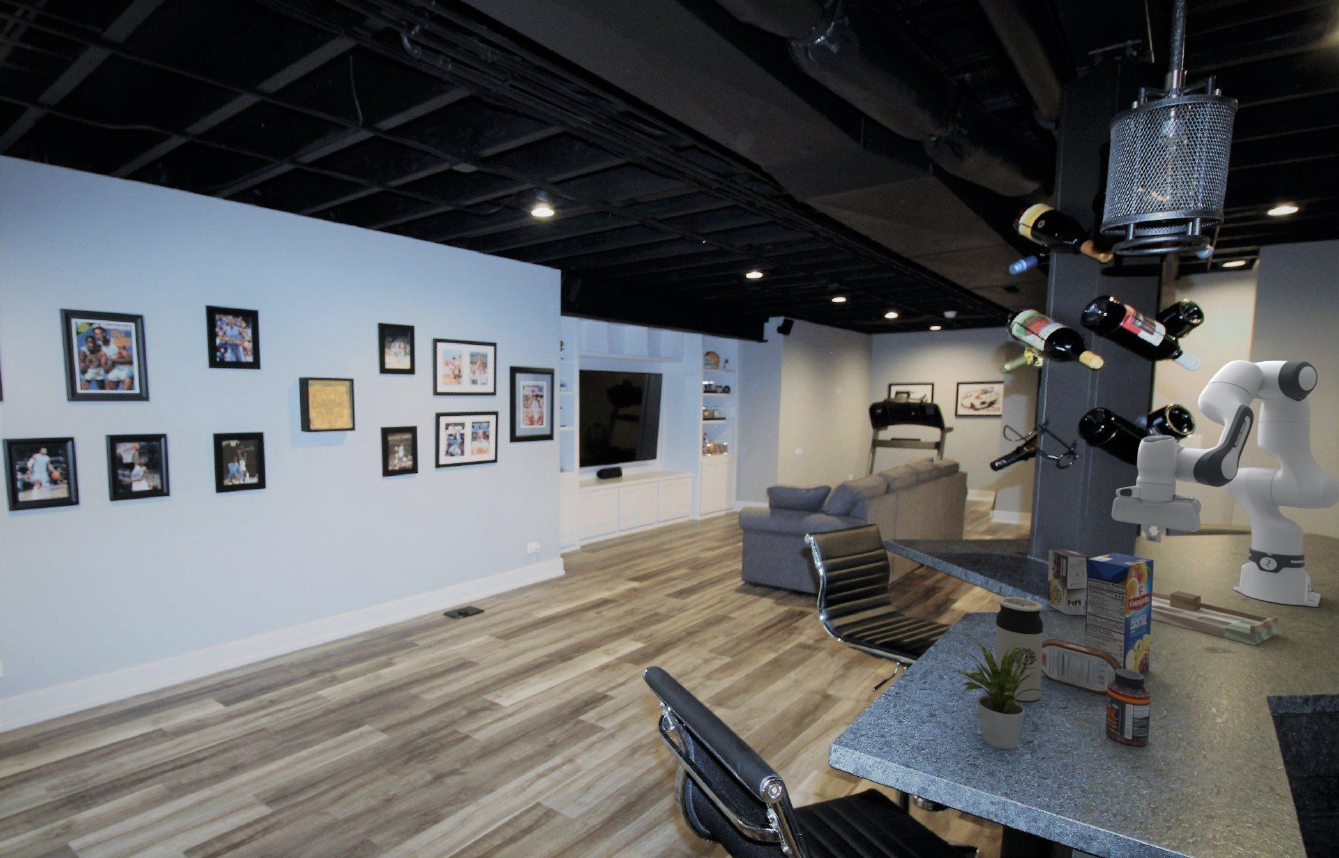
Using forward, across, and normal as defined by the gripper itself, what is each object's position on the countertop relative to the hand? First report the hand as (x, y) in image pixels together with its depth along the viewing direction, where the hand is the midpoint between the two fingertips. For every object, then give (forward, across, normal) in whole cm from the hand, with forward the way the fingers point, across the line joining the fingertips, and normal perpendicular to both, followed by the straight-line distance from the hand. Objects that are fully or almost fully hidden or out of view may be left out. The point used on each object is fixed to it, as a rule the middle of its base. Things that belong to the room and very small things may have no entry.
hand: (1153, 541), depth 176 cm
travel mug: (+19, -12, +86) cm, 89 cm away
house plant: (+19, -20, +105) cm, 109 cm away
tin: (+19, -16, +72) cm, 76 cm away
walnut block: (+16, -8, 0) cm, 18 cm away
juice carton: (+19, -16, +56) cm, 61 cm away
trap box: (+19, -11, +3) cm, 22 cm away
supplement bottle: (+19, -32, +86) cm, 94 cm away
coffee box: (+19, +10, +23) cm, 32 cm away
